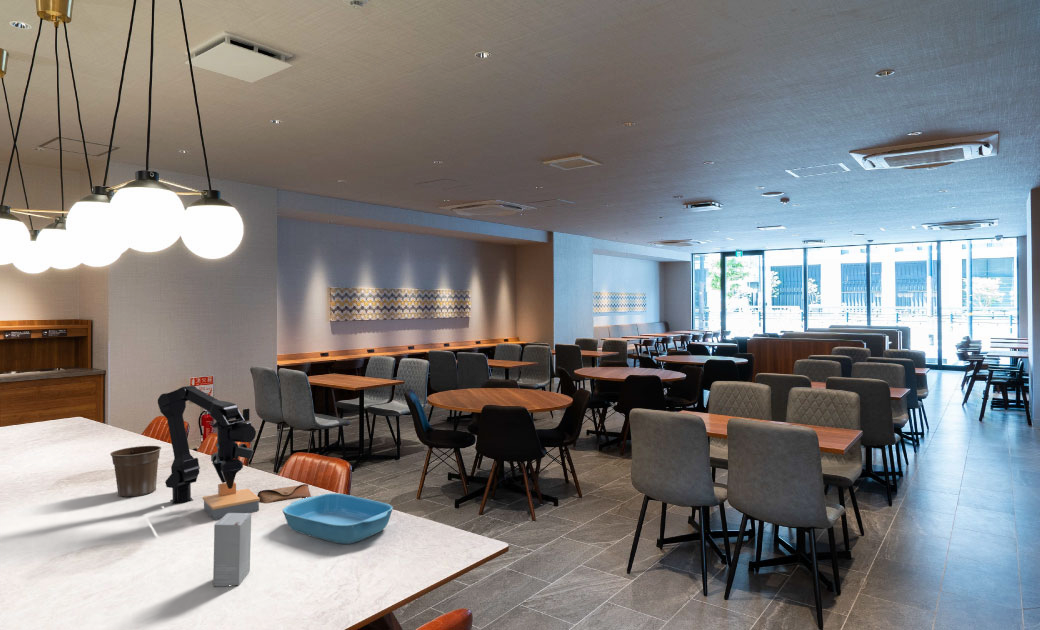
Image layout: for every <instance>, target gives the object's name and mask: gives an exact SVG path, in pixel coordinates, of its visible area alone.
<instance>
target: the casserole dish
mask: <svg viewBox="0 0 1040 630" xmlns="http://www.w3.org/2000/svg"><path fill="white" fill-rule="evenodd" d="M393 508H394V507H393V505H391V504H388V503H385V502H382V501H377V500H372V499H368V498H365V497H359V496H354V495H350V494H344V493H337V492H336V493H335V492H333V493H323V494H319V495H315V496H311V497H307V498H304V499H303V498H299V499H297V500H295V501H293V502H291V503H290V504H289V505H287V506H285V507H284V508H283V509H282V513H283V515H284V518H285V520H286V522H287V525H288V526H289V528H290V529H291V530H292V531H294V532H297V533H300V534H302V533H303V535H306V536H309V535H310V536H309V537H312V536H313V538H317V539H320V538H321V539H320V540H323V539H324V540H325V541H327V542H332V543H336V544H344V545H350V544H354V543H357V542H360V541H363V540H366V539H367V538H369V537H371V536H374V535H376V534H378V533H380V532H382V531H383V530H384V529H385V528H386V527H387V525H388V524H389V521H390V519H391V514H392V512H393Z"/></svg>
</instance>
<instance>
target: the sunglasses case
mask: <svg viewBox="0 0 1040 630" xmlns="http://www.w3.org/2000/svg"><path fill="white" fill-rule="evenodd" d="M256 495H257V496H258V497H259V498H260V501H259V503H262V504H271V503H278V502H283V501H289V500H295V499H303V498H306V497H312V495H311V492H310V488H309V484H306V483H303V484H302V483H301V484H299V485H294V486H287V487H278V488H273V489H264V490H260V491H258V493H257V494H256Z"/></svg>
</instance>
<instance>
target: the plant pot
mask: <svg viewBox="0 0 1040 630" xmlns="http://www.w3.org/2000/svg"><path fill="white" fill-rule="evenodd" d="M161 450H162V447H161V446H158V445H139V446H132V447H126V448H121V449H117V450H114V451H111V452H110V456H111V458H112V465H113V467H114V473H115V479H116V487H117V488H116V489H117V496H118V495H119V496H118V497H121V496H124V497H123V498H128V497H130V496H131V497H132V496H133V497H139V495H140V496H145V495H144V494H146V495H148V493H149V494H151V493H153V492H154V491H156V490H157V480H158V465H159V459H160V454H161V453H160V452H161Z"/></svg>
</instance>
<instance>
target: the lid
mask: <svg viewBox="0 0 1040 630" xmlns="http://www.w3.org/2000/svg"><path fill="white" fill-rule="evenodd" d="M217 492H218V493H217V494H216V493H215V494H211V495H205V496H202V500H203V502H204V501H205V502H206V503H207V504H208V505H209V507H210V508H211V509H212V510H214V509H219V508H224V507H229V506H234V505H240V504H245V503H250V502H255V501H259V502H260V498H259V497H258V496H257V495H258V494H255V493H254V492H253V491H252V490H251V489H249V488H243V489H239V490H237V483H236V482H235V481H234V483H233V486H232V488H231V489H228V487H227V484H226V482H225V483H222V482H221V483H219V484H217Z"/></svg>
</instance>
